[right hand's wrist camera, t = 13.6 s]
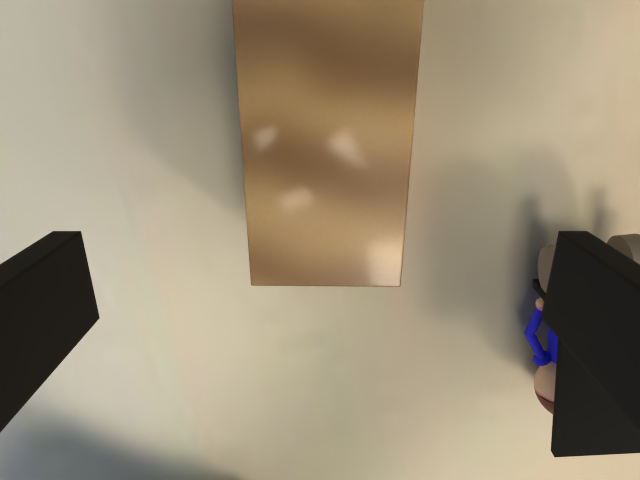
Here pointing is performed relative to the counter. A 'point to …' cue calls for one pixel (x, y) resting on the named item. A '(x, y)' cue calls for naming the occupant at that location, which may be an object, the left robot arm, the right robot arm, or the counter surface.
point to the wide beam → (326, 137)
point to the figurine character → (577, 382)
